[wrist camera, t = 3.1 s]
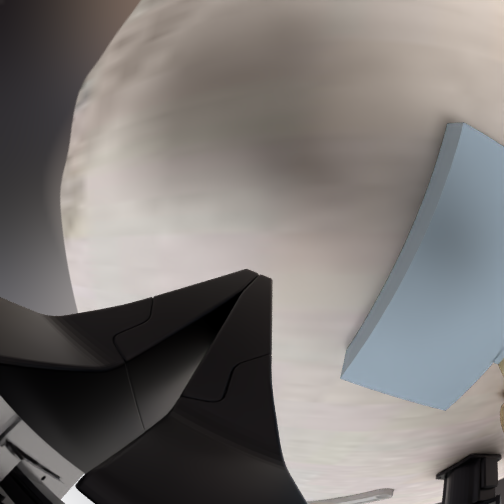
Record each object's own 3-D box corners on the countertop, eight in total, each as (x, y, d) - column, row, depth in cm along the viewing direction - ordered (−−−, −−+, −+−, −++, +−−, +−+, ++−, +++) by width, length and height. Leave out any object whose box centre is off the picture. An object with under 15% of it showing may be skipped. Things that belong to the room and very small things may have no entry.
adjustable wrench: (387, 483, 23) (385, 494, 22) (409, 491, 23) (407, 501, 21) (274, 498, 37) (271, 505, 35) (298, 507, 37) (295, 514, 35)
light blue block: (488, 395, 13) (495, 445, 9) (346, 349, 16) (331, 410, 12) (593, 236, 6) (631, 271, 2) (446, 123, 9) (486, 121, 5)
